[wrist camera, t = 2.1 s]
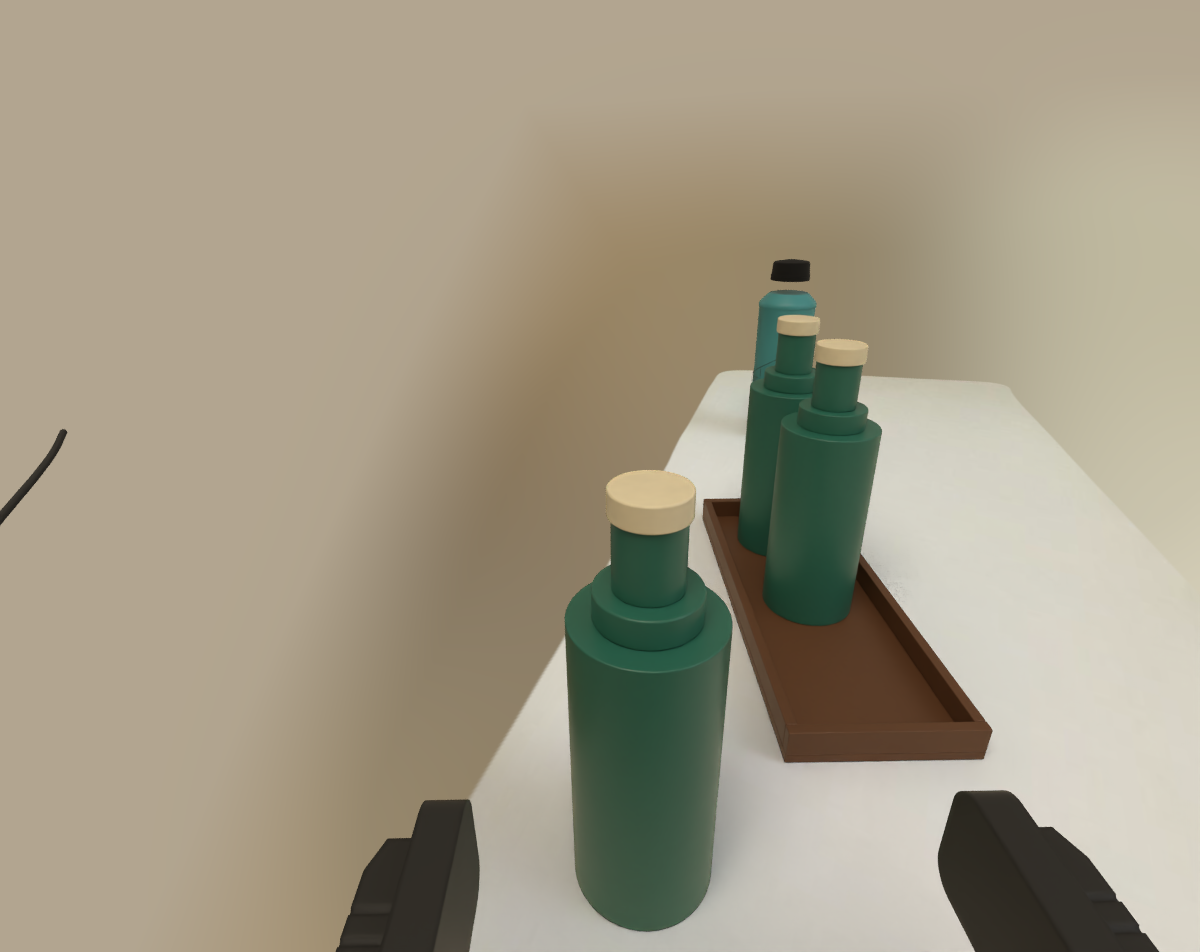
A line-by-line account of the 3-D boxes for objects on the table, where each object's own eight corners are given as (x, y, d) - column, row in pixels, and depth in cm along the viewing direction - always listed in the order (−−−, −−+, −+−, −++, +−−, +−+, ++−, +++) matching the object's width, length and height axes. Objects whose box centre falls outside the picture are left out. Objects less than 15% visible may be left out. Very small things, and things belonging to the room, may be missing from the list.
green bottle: (547, 861, 28) (521, 488, 20) (636, 779, 31) (641, 440, 24) (650, 966, 24) (663, 553, 17) (737, 858, 28) (780, 485, 20)
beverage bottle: (750, 442, 74) (767, 262, 66) (742, 423, 80) (756, 257, 72) (807, 442, 74) (830, 262, 65) (795, 424, 80) (815, 256, 72)
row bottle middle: (746, 601, 44) (771, 344, 37) (788, 568, 48) (818, 329, 41) (825, 638, 40) (870, 360, 33) (864, 599, 44) (913, 342, 37)
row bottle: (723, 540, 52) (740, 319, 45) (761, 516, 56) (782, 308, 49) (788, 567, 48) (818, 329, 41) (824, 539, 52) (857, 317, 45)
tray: (984, 759, 32) (993, 730, 31) (784, 762, 32) (788, 733, 31) (815, 517, 57) (818, 497, 56) (702, 518, 57) (703, 498, 56)
